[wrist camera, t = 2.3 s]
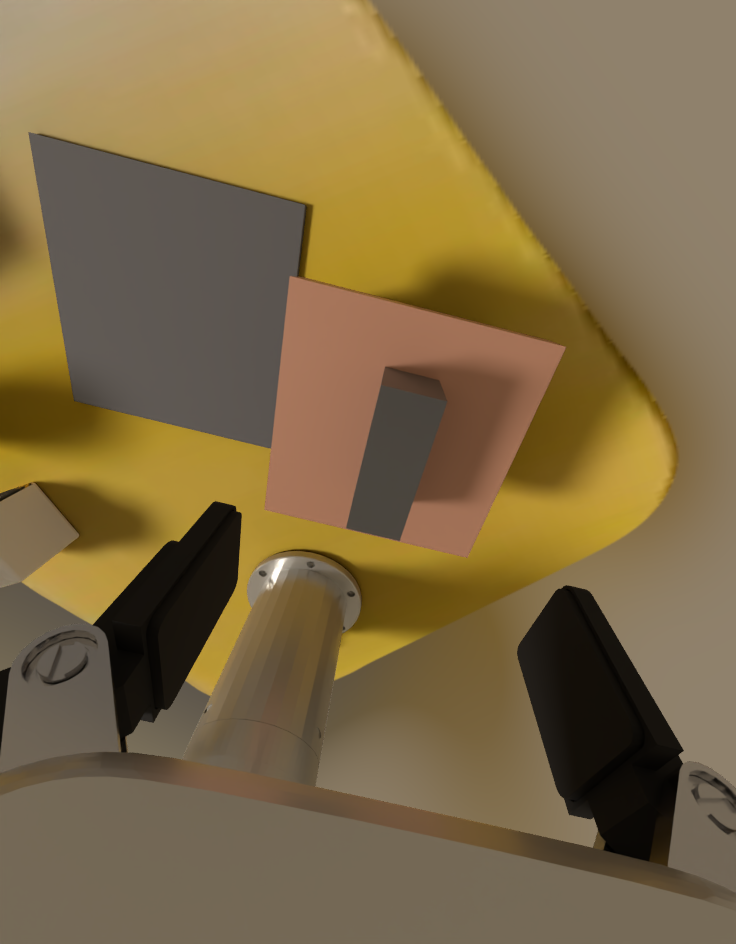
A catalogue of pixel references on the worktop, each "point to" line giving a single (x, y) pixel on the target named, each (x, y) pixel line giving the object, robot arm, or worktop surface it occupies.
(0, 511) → the medicine bottle
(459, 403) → the lid
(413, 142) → the worktop surface
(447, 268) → the worktop surface
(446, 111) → the worktop surface
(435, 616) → the worktop surface
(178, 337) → the mat
